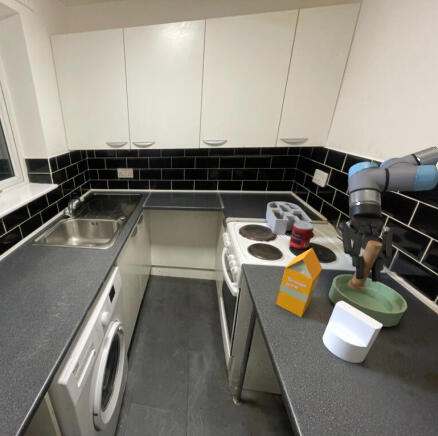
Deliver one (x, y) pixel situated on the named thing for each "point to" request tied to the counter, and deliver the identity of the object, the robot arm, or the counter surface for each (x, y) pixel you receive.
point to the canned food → (301, 235)
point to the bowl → (370, 299)
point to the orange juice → (299, 282)
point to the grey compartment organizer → (284, 216)
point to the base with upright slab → (350, 333)
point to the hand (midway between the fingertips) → (368, 279)
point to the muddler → (366, 265)
